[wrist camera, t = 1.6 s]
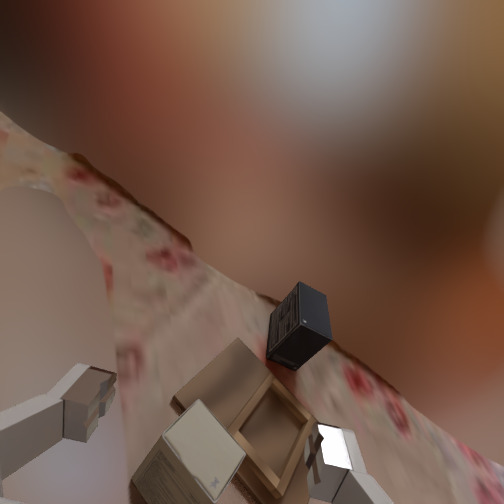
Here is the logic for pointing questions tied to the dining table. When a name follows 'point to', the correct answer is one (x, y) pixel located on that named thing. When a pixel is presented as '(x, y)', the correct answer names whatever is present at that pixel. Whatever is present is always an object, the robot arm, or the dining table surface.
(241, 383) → the wooden board with frame
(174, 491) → the skincare box
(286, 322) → the small box
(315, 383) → the dining table surface
